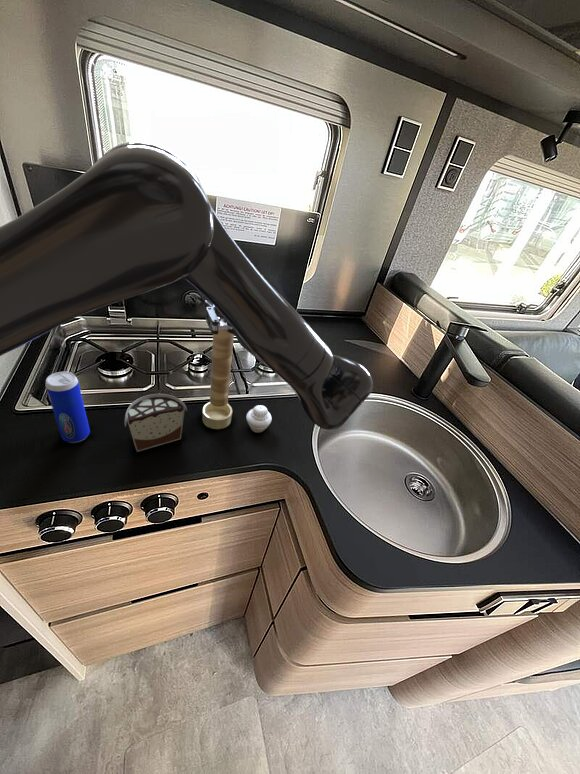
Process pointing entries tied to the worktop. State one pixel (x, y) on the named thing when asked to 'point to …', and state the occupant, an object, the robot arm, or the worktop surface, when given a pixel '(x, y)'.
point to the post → (221, 367)
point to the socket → (216, 416)
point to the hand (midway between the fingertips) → (218, 300)
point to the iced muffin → (155, 420)
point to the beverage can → (68, 406)
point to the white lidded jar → (258, 418)
